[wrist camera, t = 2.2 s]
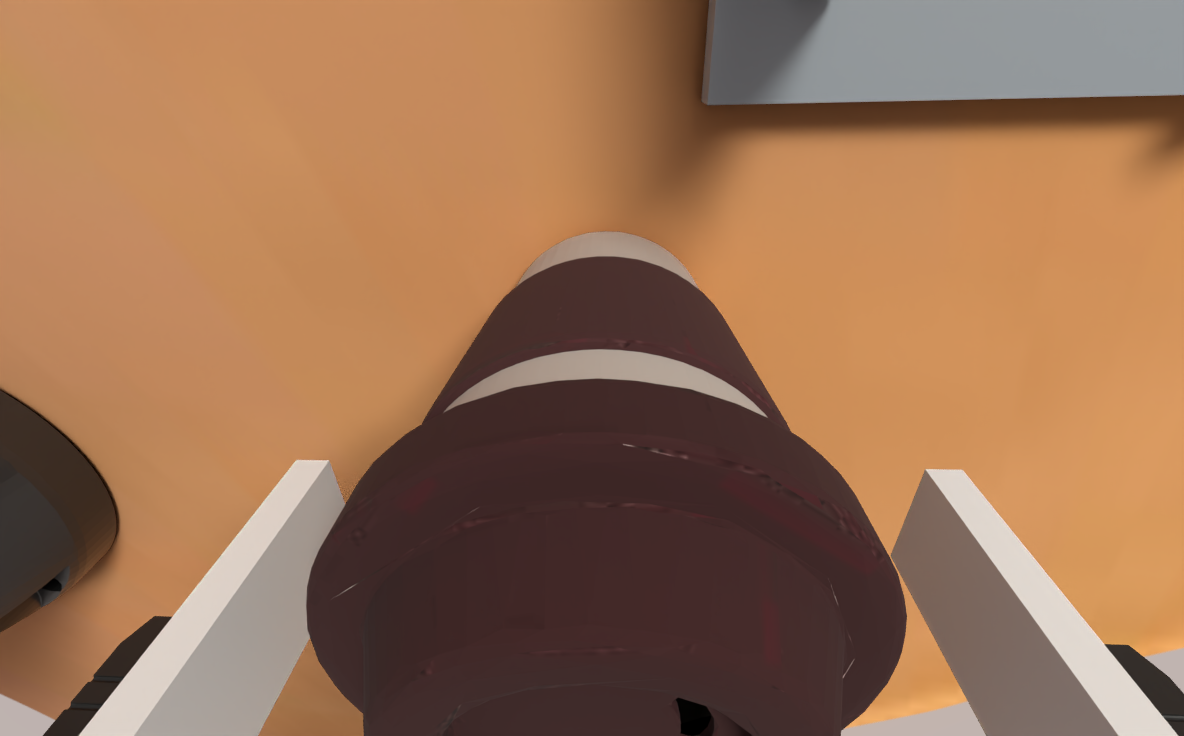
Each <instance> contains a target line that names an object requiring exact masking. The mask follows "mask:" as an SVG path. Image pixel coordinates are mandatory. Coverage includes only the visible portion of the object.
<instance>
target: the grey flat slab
mask: <svg viewBox="0 0 1184 736" xmlns="http://www.w3.org/2000/svg"><path fill="white" fill-rule="evenodd" d="M1157 95H1184V0H709V9H708V22H707V35H706V48H705V61H704V74H703V87H702V100H701V102H703V103H705V104H706V105H738V104H785V103H831V102H878V101H925V100H971V99H1018V98H1064V97H1111V96H1157Z"/></svg>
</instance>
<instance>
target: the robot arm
mask: <svg viewBox="0 0 1184 736" xmlns="http://www.w3.org/2000/svg"><path fill="white" fill-rule="evenodd" d="M344 506H345V502H344V500H343V497H342V494H341V491H340V489H339V486H338V483H337V480H336V478H335V475H334V472H333V470H332V467H331V464H330V461H329V460H296V461H295V462H294V464H293V465H292V466H291V467H290V469H289V470H288V471H287V473H286V474H285V475H284V476H283V478H282V479H281V480H280V481H279V483H278V484H277V485H276V486H275V488H274V489H273V490H272V491H271V493H270V494H269V495H268V497H267V498H266V499H265V500H264V502H263V503H262V504H261V505H260V507H259V508H258V509H257V510H256V512H255V513H254V514H253V516H252V517H251V518H250V519H249V521H248V522H247V523H246V524H245V526H244V527H243V528H242V529H241V531H240V532H239V533H238V535H237V536H236V537H235V538H234V540H233V541H232V542H231V543H230V545H229V546H228V547H227V548H226V550H225V551H224V552H223V554H222V555H221V556H220V557H219V559H218V560H217V561H216V562H215V564H214V565H213V566H212V567H211V569H210V570H209V571H208V573H207V574H206V575H205V576H204V578H203V579H202V580H201V581H200V583H199V584H198V585H197V586H196V588H195V589H194V590H193V591H192V593H191V594H190V595H189V597H188V598H187V599H186V600H185V602H184V603H183V604H182V605H181V607H180V608H179V609H178V610H177V612H176V613H175V614H174V616H173V617H163V616H154V617H153V618H152V619H150V620H149V621H148V622H147V623H145V624H144V625H143V626H142V627H140V628H139V629H138V630H137V631H135V632H134V633H133V634H132V635H130V636H129V637H128V638H127V639H125V640H124V641H123V642H122V643H120V645H119V646H118V647H117V648H116V649H115V650H114V652H113V653H112V654H111V655H110V656H109V658H108V659H107V660H106V661H105V662H104V664H103V665H102V666H101V667H100V668H99V669H98V671H97V672H96V673H95V674H94V675H93V676H94V678H93V680H92V681H91V682H88V683H87V684H86V685H85V686H84V687H83V688H82V690H81V691H80V692H79V693H78V694H77V696H76V697H75V698H74V699H73V700H72V702H71V706H70V708H69V709H67V710H64V711H63V712H62V713H61V715H60V716H59V717H58V718H57V719H56V721H55V722H54V723H53V724H52V725H51V726H50V728H49V729H48V730H47V731H46V732H45V734H44V735H43V736H258V735H259V733H260V731H261V729H262V727H263V725H264V723H265V721H266V719H267V717H268V716H269V714H270V712H271V710H272V708H273V706H274V704H275V702H276V700H277V699H278V697H279V695H280V693H281V691H282V689H283V687H284V685H285V683H286V682H287V680H288V678H289V676H290V674H291V672H292V670H293V668H294V666H295V665H296V663H297V661H298V659H299V657H300V655H301V653H302V651H303V649H304V648H305V646H306V644H307V642H308V640H309V638H310V636H309V633H308V630H307V612H306V599H307V585H308V580H309V576H310V571H311V568H312V565H313V563H314V560H315V558H316V556H317V553H318V551H319V549H320V547H321V545H322V544H323V542H324V540H325V539H326V537H327V535H328V533H329V532H330V530H331V528H332V527H333V525H334V523H335V521H336V520H337V518H338V516H339V515H340V513H341V511H342V509H343V508H344ZM115 534H116V515H115V510H114V507H113V504H112V501H111V498H110V496H109V494H108V492H107V490H106V488H105V486H104V484H103V483H102V481H101V479H100V478H99V476H98V475H97V473H96V472H95V471H94V469H93V468H92V466H91V465H90V464H89V463H88V462H87V460H86V459H85V458H84V457H83V456H82V455H81V454H80V452H79V451H78V450H77V449H76V448H75V447H74V446H73V445H72V444H71V443H70V442H69V441H68V440H67V439H66V438H65V437H63V436H62V435H61V434H60V433H59V432H58V431H57V430H56V429H54V428H53V427H52V426H51V425H49V424H48V423H47V422H46V421H45V420H43V419H42V418H41V417H39V416H38V415H37V414H35V413H34V412H33V411H31V410H30V409H28V408H27V407H25V406H24V405H23V404H21V403H20V402H18V401H16V400H15V399H13V398H12V397H10V396H9V395H7V394H5V393H4V392H2V391H0V632H2V631H4V630H5V629H7V628H9V627H10V626H12V625H14V624H15V623H17V622H19V621H20V620H22V619H24V618H25V617H27V616H28V615H30V614H32V613H33V612H35V611H36V610H38V609H39V608H41V607H43V606H45V605H47V604H49V603H50V602H52V601H54V600H55V599H57V598H58V597H60V596H62V595H63V594H64V593H65V592H67V591H68V590H69V589H71V588H72V587H73V586H74V585H75V584H76V583H77V582H78V581H79V580H80V579H81V578H82V577H83V576H84V575H85V574H86V573H87V572H88V571H89V570H90V569H91V568H92V567H93V566H94V565H95V564H96V563H97V562H98V561H99V560H100V559H101V558H102V557H103V556H104V555H105V554H106V553H107V552H108V550H109V549H110V548H111V546H112V544H113V541H114V538H115ZM891 558H892V559H893V561H894V563H895V565H896V567H897V569H898V571H899V573H900V574H901V576H902V578H903V580H904V582H905V584H906V586H907V588H908V589H909V591H910V593H911V595H912V597H913V599H914V601H915V603H916V604H917V606H918V608H919V610H920V612H921V614H922V616H923V618H924V620H925V621H926V623H927V625H928V627H929V629H930V631H931V633H932V635H933V636H934V638H935V640H936V642H937V644H938V646H939V648H940V650H941V651H942V653H943V655H944V657H945V659H946V661H947V663H948V665H949V666H950V668H951V670H952V672H953V674H954V676H955V678H956V680H957V682H958V683H959V685H960V687H961V689H962V691H963V693H964V695H965V697H966V698H967V700H968V702H969V704H970V706H971V708H972V710H973V711H974V713H975V715H976V717H977V719H978V721H979V723H980V724H981V727H982V728H983V730H984V732H985V734H986V736H1184V694H1183V692H1182V691H1181V690H1180V689H1179V688H1178V687H1177V686H1176V684H1175V683H1174V682H1173V681H1172V680H1171V679H1170V678H1169V677H1168V676H1167V675H1166V674H1164V673H1163V672H1162V671H1161V670H1159V669H1158V668H1157V667H1155V666H1154V665H1153V664H1152V663H1150V662H1149V661H1148V660H1147V659H1145V658H1144V657H1143V656H1142V655H1140V654H1139V653H1138V652H1136V651H1135V650H1134V649H1133V648H1131V647H1130V646H1129V645H1110V644H1103V642H1102V641H1101V640H1100V639H1099V637H1098V636H1097V635H1096V634H1095V632H1094V631H1093V630H1092V629H1091V628H1090V626H1089V625H1088V624H1087V623H1086V621H1085V620H1084V619H1083V618H1082V616H1081V615H1080V614H1079V613H1078V612H1077V610H1076V609H1075V608H1074V607H1073V605H1072V604H1071V603H1070V602H1069V600H1068V599H1067V598H1066V597H1065V596H1064V594H1063V593H1062V592H1061V591H1060V589H1059V588H1058V587H1057V586H1056V584H1055V583H1054V582H1053V581H1052V580H1051V578H1050V577H1049V576H1048V575H1047V573H1046V572H1045V571H1044V570H1043V568H1042V567H1041V566H1040V565H1039V564H1038V562H1037V561H1036V560H1035V559H1034V557H1033V556H1032V555H1031V554H1030V552H1029V551H1028V550H1027V549H1026V547H1025V546H1024V545H1023V544H1022V543H1021V541H1020V540H1019V539H1018V538H1017V536H1016V535H1015V534H1014V533H1013V531H1012V530H1011V529H1010V528H1009V527H1008V525H1007V524H1006V523H1005V522H1004V520H1003V519H1002V518H1001V517H1000V515H999V514H998V513H997V512H996V511H995V509H994V508H993V507H992V506H991V504H990V503H989V502H988V501H987V499H986V498H985V497H984V496H983V495H982V493H981V492H980V491H979V490H978V488H977V487H976V486H975V485H974V483H973V482H972V481H971V480H970V479H969V477H968V476H967V475H966V474H965V472H964V471H963V470H938V469H925V472H924V474H923V477H922V479H921V482H920V484H919V487H918V489H917V492H916V494H915V496H914V499H913V501H912V504H911V506H910V509H909V511H908V514H907V516H906V519H905V521H904V524H903V526H902V529H901V531H900V534H899V536H898V539H897V541H896V544H895V546H894V548H893V551H892V553H891Z"/></svg>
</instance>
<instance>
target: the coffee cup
mask: <svg viewBox="0 0 1184 736" xmlns="http://www.w3.org/2000/svg"><path fill="white" fill-rule="evenodd" d="M306 612H307V630H308V633H309V636H310V638H311V641H312V644H313V647H314V649H315V652H316V655H317V657H318V660H319V662H320V664H321V665H322V667H323V668H324V670H325V671H326V673H327V674H328V675H329V677H330V678H331V680H332V681H333V683H334V684H335V686H336V687H337V688H338V689H339V690H340V691H341V693H342V694H343V695H344V696H345V697H346V698H347V699H348V700H349V701H350V702H351V703H352V704H353V705H354V706H355V707H356V708H357V709H358V710H360V711H361V712H362V713H363V726H364V736H841V730H843V729H844V728H845V727H846V726H848V725H849V724H850V723H851V722H852V721H854V720H855V719H856V718H857V717H859V716H860V715H861V714H862V713H863V712H864V711H865V710H866V709H867V708H868V707H869V705H870V704H871V703H872V702H873V700H874V699H875V698H876V697H877V696H878V694H879V693H880V692H881V691H882V689H883V688H884V687H885V686H886V685H887V683H888V681H889V679H890V677H891V676H892V674H893V672H894V670H895V668H896V666H897V664H898V661H899V658H900V655H901V652H902V648H903V643H904V638H905V632H906V620H907V615H906V607H905V599H904V595H903V591H902V588H901V584H900V580H899V576H898V573H897V571H896V569H895V567H894V565H893V563H892V561H891V559H890V557H889V555H888V554H887V552H886V550H885V548H884V546H883V544H882V543H881V541H880V539H879V537H878V535H877V534H876V532H875V530H874V528H873V526H872V524H871V523H870V521H869V519H868V517H867V515H866V514H865V512H864V510H863V508H862V506H861V504H860V503H859V501H858V499H857V497H856V495H855V494H854V492H853V491H852V489H851V488H850V487H849V485H848V484H847V483H846V481H845V480H844V478H843V477H842V476H841V474H840V473H839V472H838V471H837V470H836V469H835V468H834V467H833V466H832V465H831V464H830V463H829V462H828V461H827V460H826V459H825V458H824V457H823V456H822V455H821V454H819V453H818V452H817V451H816V450H815V449H813V448H812V447H811V446H810V445H809V444H807V443H806V442H805V441H804V440H803V439H801V438H800V437H798V436H796V435H795V434H793V433H792V432H791V431H790V429H789V427H788V425H787V423H786V421H785V420H784V418H783V416H782V415H781V413H780V411H779V410H778V408H777V406H776V405H775V403H774V401H773V400H772V398H771V396H770V395H769V393H768V391H767V390H766V388H765V386H764V385H763V383H762V381H761V380H760V378H759V376H758V375H757V373H756V371H755V370H754V368H753V366H752V365H751V363H750V361H749V360H748V358H747V356H746V355H745V353H744V351H743V349H742V348H741V346H740V344H739V343H738V341H737V339H736V338H735V336H734V334H733V333H732V331H731V329H730V328H729V326H728V324H727V323H726V321H725V319H724V318H723V316H722V315H721V313H720V312H719V311H718V309H717V308H716V307H715V305H714V304H713V303H712V302H711V301H710V300H709V299H708V298H707V297H706V296H705V294H704V293H703V292H701V291H700V290H699V288H698V287H697V285H696V283H695V281H694V279H693V278H692V276H691V275H690V273H689V272H688V270H687V269H686V268H685V267H684V265H683V264H682V263H681V262H680V261H679V260H678V259H677V258H676V257H675V256H673V255H672V254H671V253H670V252H668V251H667V250H666V249H664V248H663V247H661V246H660V245H658V244H656V243H654V242H652V241H649V240H647V239H645V238H642V237H639V236H636V235H633V234H628V233H623V232H612V231H603V232H590V233H585V234H582V235H578V236H575V237H571V238H568V239H566V240H564V241H562V242H560V243H558V244H556V245H555V246H553V247H551V248H550V249H548V250H547V251H545V252H544V253H543V254H541V255H540V256H539V257H538V258H537V259H536V260H535V261H534V262H533V263H532V264H531V266H530V267H529V268H528V269H527V271H526V272H525V273H524V274H523V276H522V278H521V279H520V281H519V283H518V284H517V286H516V288H514V289H513V290H512V291H511V292H510V293H509V294H507V295H506V296H505V297H504V298H503V299H502V301H501V302H500V303H499V304H498V305H497V307H496V308H495V309H494V311H493V312H492V314H491V315H490V317H489V318H488V320H487V321H486V323H485V324H484V326H483V328H482V329H481V331H480V332H479V334H478V335H477V337H476V339H475V340H474V342H473V343H472V345H471V346H470V348H469V349H468V351H467V353H466V354H465V356H464V357H463V359H462V360H461V362H460V363H459V365H458V367H457V368H456V370H455V371H454V373H453V374H452V376H451V377H450V379H449V381H448V382H447V384H446V385H445V387H444V388H443V390H442V391H441V393H440V395H439V396H438V398H437V399H436V401H435V402H434V404H433V406H432V407H431V409H430V411H429V412H428V414H427V416H426V417H425V419H424V421H423V423H422V425H420V426H418V427H417V428H415V429H414V430H412V431H410V432H409V433H407V434H406V435H404V436H403V437H402V438H401V439H400V440H398V441H397V442H396V443H395V444H394V445H393V446H391V447H390V448H389V449H388V450H387V451H386V452H385V453H383V454H382V455H381V456H380V457H379V458H378V459H377V460H376V461H375V462H374V463H373V464H372V465H371V467H370V468H369V469H368V470H367V472H366V473H365V474H364V476H363V477H362V478H361V479H360V481H359V482H358V484H357V486H356V487H355V489H354V491H353V492H352V494H351V496H350V497H349V499H348V501H347V503H346V504H345V506H344V508H343V509H342V511H341V513H340V515H339V516H338V518H337V520H336V521H335V523H334V525H333V527H332V528H331V530H330V532H329V533H328V535H327V537H326V539H325V540H324V542H323V544H322V545H321V547H320V549H319V551H318V553H317V556H316V558H315V560H314V563H313V565H312V568H311V571H310V576H309V580H308V585H307V599H306Z"/></svg>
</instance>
